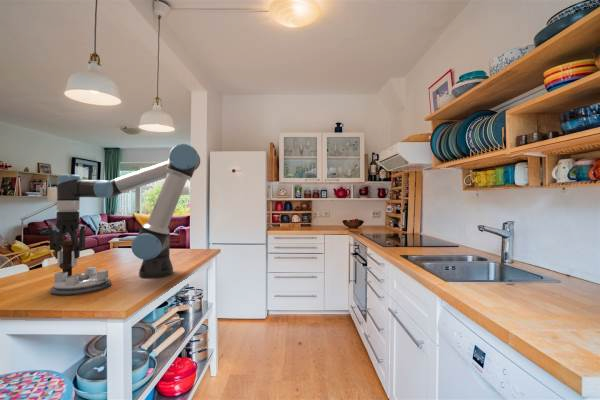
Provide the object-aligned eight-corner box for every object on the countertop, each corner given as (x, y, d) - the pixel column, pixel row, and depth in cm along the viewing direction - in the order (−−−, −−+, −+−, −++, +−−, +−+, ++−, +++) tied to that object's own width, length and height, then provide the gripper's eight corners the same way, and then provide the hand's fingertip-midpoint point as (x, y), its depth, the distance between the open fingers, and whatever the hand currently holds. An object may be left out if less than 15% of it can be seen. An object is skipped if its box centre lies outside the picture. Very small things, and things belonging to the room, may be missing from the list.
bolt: (56, 276, 119) (56, 240, 119) (69, 274, 124) (70, 239, 124) (64, 278, 117) (65, 241, 117) (78, 275, 122) (78, 240, 122)
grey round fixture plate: (115, 277, 129) (115, 266, 129) (96, 288, 111) (96, 276, 111) (69, 279, 125) (69, 267, 125) (42, 292, 107) (42, 278, 107)
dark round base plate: (118, 280, 130) (118, 276, 130) (98, 293, 111) (98, 289, 111) (67, 282, 125) (67, 278, 126) (37, 297, 106) (37, 293, 106)
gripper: (95, 210, 126) (95, 263, 126) (49, 210, 122) (48, 265, 122) (87, 211, 119) (86, 267, 119) (37, 211, 115) (36, 269, 115)
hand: (67, 266), depth 120 cm, fingers closed on bolt, 4 cm apart
